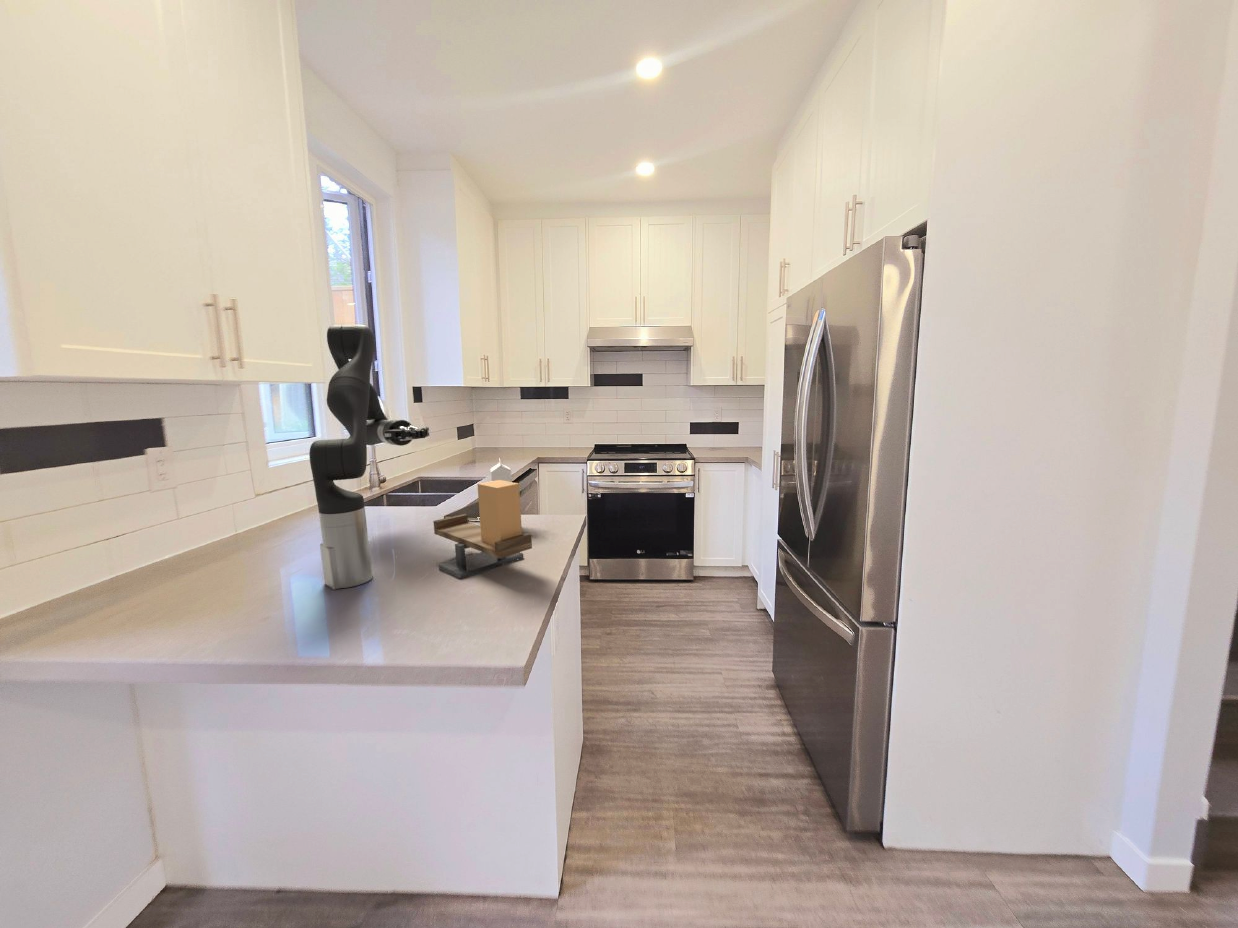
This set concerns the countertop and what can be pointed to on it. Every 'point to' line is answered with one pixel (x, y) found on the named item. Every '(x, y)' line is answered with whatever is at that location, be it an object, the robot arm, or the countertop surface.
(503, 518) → the block
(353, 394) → the robot arm
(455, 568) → the pivot stand
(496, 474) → the milk
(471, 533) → the beam
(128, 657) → the countertop surface
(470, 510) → the hardcover book
